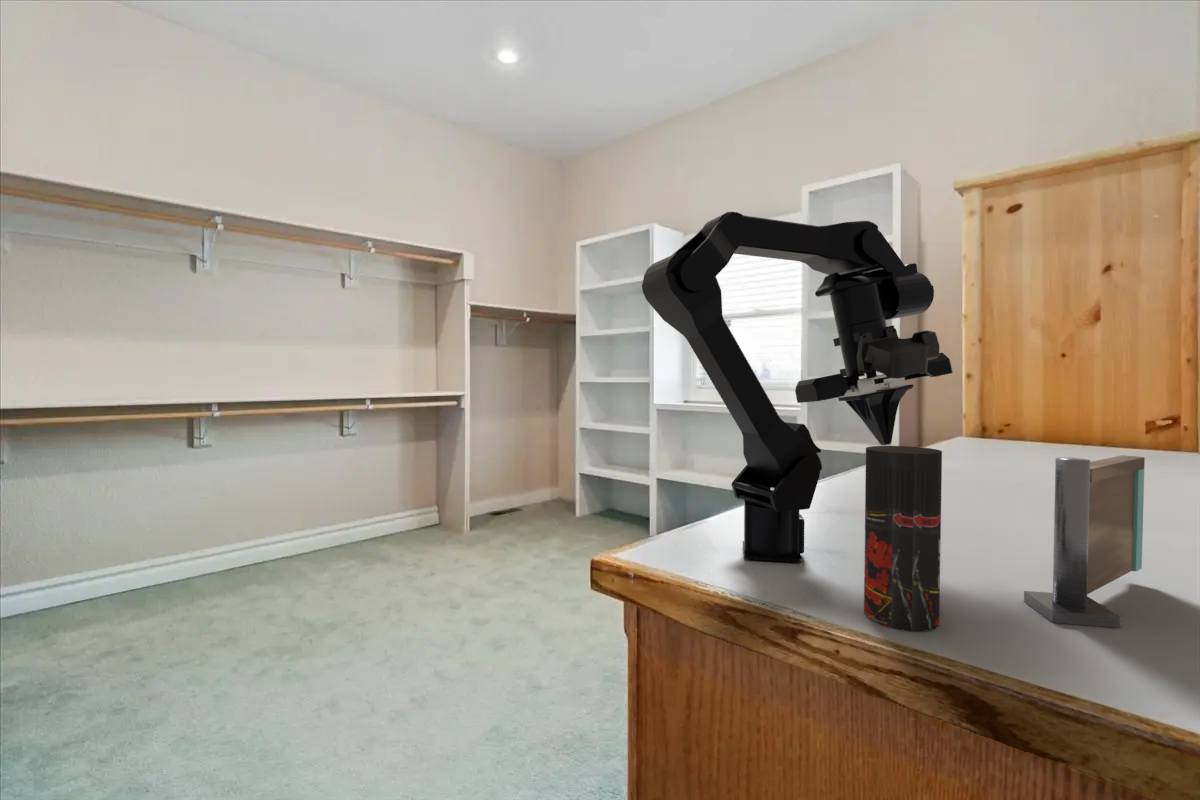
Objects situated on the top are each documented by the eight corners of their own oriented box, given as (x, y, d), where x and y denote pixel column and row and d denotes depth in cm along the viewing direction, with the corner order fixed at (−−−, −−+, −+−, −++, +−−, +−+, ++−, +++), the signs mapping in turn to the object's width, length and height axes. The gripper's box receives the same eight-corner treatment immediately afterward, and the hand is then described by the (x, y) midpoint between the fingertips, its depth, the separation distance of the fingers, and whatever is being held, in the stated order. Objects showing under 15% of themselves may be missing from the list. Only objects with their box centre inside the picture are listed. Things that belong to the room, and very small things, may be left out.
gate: (1064, 590, 53) (1067, 466, 53) (1119, 563, 61) (1121, 455, 61) (1088, 596, 52) (1091, 468, 51) (1141, 568, 60) (1144, 457, 59)
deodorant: (950, 634, 48) (953, 454, 47) (873, 628, 49) (875, 452, 48) (925, 606, 54) (927, 446, 53) (857, 602, 55) (858, 445, 54)
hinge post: (1052, 622, 50) (1056, 462, 49) (1023, 601, 55) (1026, 454, 54) (1120, 627, 49) (1124, 463, 48) (1084, 605, 54) (1088, 456, 53)
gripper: (829, 326, 64) (857, 463, 64) (974, 298, 67) (1002, 430, 67) (782, 341, 75) (806, 458, 75) (909, 317, 78) (932, 429, 78)
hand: (885, 444), depth 73 cm, fingers closed
